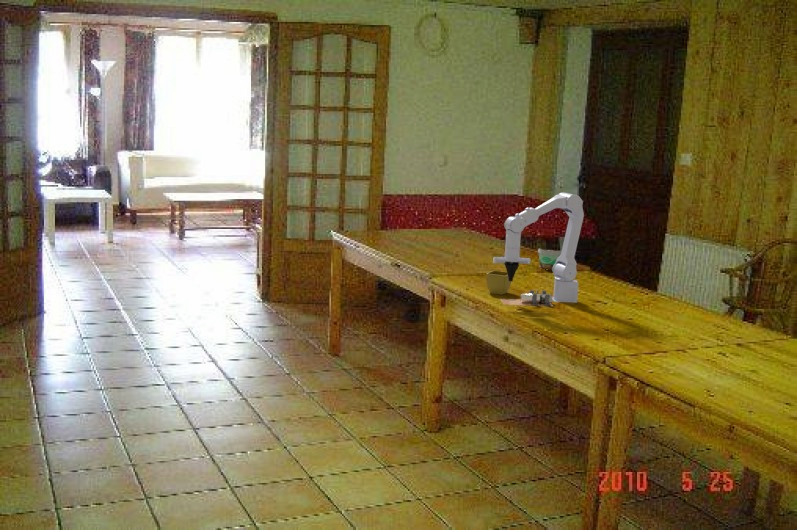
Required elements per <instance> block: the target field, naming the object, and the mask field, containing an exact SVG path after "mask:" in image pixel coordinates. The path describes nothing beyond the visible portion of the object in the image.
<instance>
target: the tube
mask: <svg viewBox="0 0 797 530" xmlns="http://www.w3.org/2000/svg"><path fill="white" fill-rule="evenodd" d="M548 294H549V293H548ZM519 297H520V300H521V303H532V294H529V293H521V294H520V296H519ZM552 297H553V296H552V294H549V303H551V304H553V300H552ZM544 300H545V294H542V293H539V294H537V300H536V303H544Z"/></svg>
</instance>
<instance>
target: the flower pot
mask: <svg viewBox="0 0 797 530" xmlns="http://www.w3.org/2000/svg"><path fill="white" fill-rule="evenodd" d="M485 276H486V277H485V278H486V285H487V290H488V292H489V293H490V294H494V295H502V296H503V295H504V294H507V293H508V291H509V289H510V287H511V285H512V284H511V283H512V281H508V273H507V271H502V270H491V271H488V272H487V273H486V275H485Z"/></svg>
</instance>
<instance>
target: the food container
mask: <svg viewBox="0 0 797 530" xmlns="http://www.w3.org/2000/svg"><path fill="white" fill-rule="evenodd" d="M561 252H562V249H561V250H553V249H543V248H538V249H537V253H538V257H539V258H538V260H539V261H538V264H539V266H538V267H540V268H542V269H548V270H552V268H553V266H554V264H555V263H556V260H557V258H558V257H559V256H560V255H561ZM540 268H539V269H540ZM542 269H541V270H542Z"/></svg>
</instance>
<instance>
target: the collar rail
mask: <svg viewBox="0 0 797 530" xmlns="http://www.w3.org/2000/svg"><path fill="white" fill-rule="evenodd" d="M535 291H536V293H535ZM528 292H529V293H528V294H532V303H531V305H533V307H535V306H536V307H537V306H538V304H537V303H536V300H537V294H540V293H539V289H536V290H534V289H529V291H528ZM541 294H545V300H544V306H542V305H541V304H539V305H540V306H539V307H552V306H551V305H550V304H549V293H547V290H545V289H544V290H543V289H542V290H541ZM531 305H530V306H531Z"/></svg>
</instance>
